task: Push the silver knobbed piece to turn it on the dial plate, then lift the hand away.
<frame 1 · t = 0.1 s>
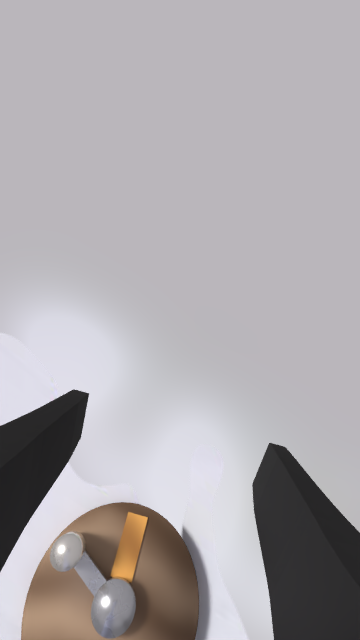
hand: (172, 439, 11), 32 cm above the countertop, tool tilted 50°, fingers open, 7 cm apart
silver knobbed piece: (92, 581, 30), point 4 cm above the countertop, hinge at 0.0°
dial plate: (115, 599, 32), on the countertop
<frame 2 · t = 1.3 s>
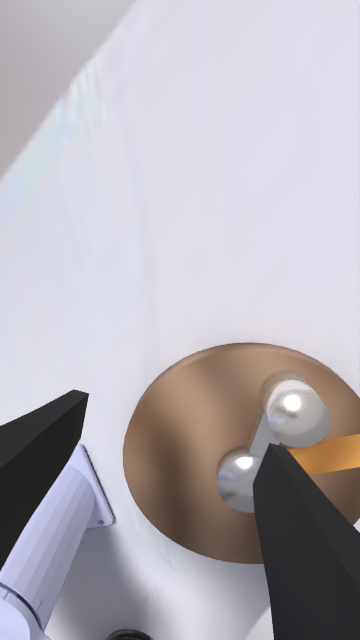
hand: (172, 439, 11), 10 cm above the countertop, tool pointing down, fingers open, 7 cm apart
silver knobbed piece: (268, 456, 18), point 4 cm above the countertop, hinge at 0.0°
dial plate: (244, 454, 22), on the countertop
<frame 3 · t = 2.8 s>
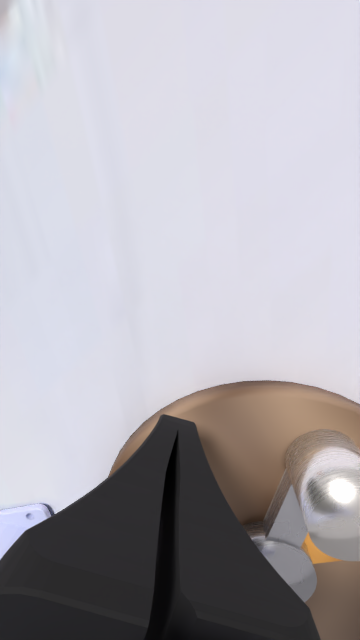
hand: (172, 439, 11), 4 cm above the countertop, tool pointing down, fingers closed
silver knobbed piece: (296, 549, 13), point 4 cm above the countertop, hinge at 0.0°
dial plate: (258, 522, 17), on the countertop
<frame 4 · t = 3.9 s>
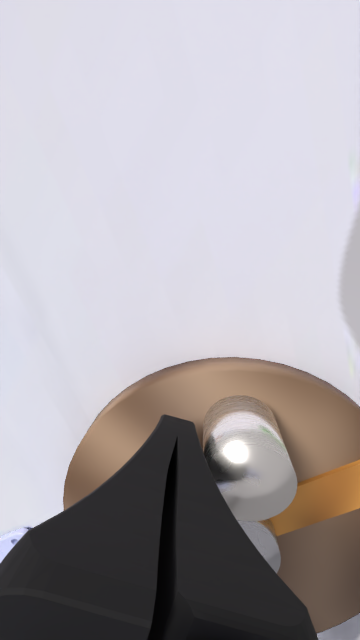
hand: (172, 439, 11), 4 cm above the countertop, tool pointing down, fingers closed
silver knobbed piece: (237, 521, 12), point 4 cm above the countertop, hinge at 0.0°, touching gripper
dial plate: (228, 503, 17), on the countertop
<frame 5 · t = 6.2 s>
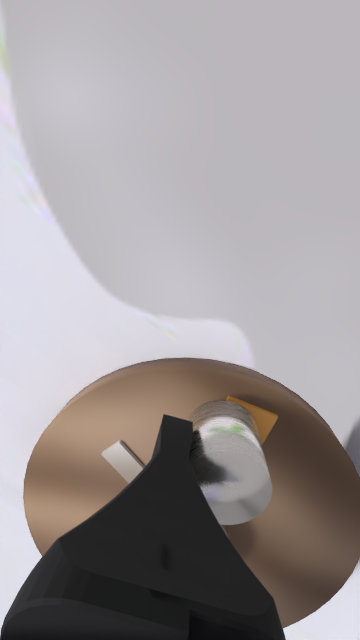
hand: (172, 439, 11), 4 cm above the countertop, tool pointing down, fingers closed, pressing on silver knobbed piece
silver knobbed piece: (199, 521, 13), point 4 cm above the countertop, hinge at 50.7°, touching gripper
dial plate: (188, 502, 17), on the countertop
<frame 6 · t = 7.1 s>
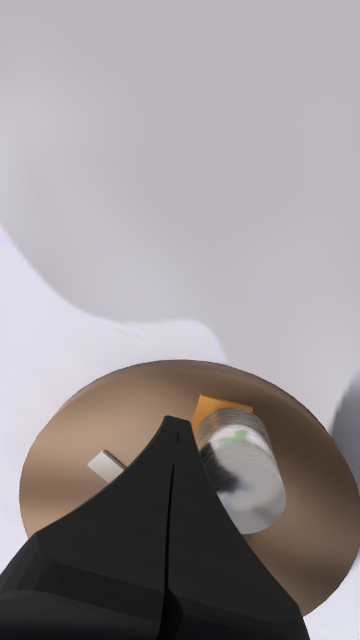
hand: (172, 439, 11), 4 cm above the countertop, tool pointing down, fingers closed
silver knobbed piece: (201, 526, 13), point 4 cm above the countertop, hinge at 63.6°, touching gripper
dial plate: (184, 503, 17), on the countertop
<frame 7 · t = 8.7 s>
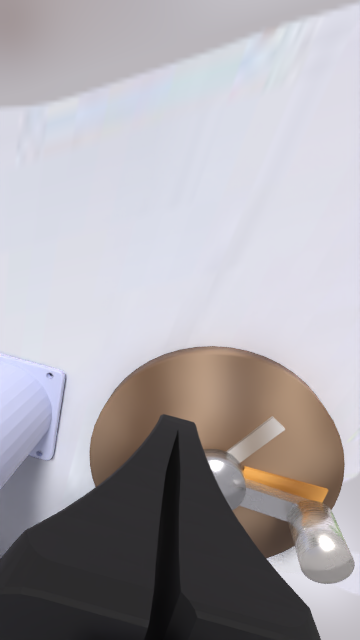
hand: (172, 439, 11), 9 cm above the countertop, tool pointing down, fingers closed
silver knobbed piece: (258, 513, 19), point 4 cm above the countertop, hinge at 63.9°
dial plate: (211, 456, 23), on the countertop
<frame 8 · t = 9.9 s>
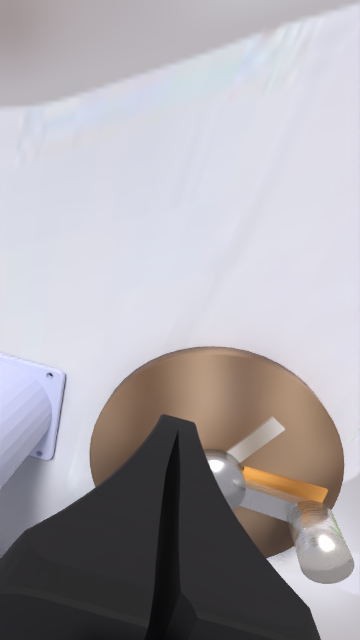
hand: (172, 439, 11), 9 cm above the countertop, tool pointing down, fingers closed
silver knobbed piece: (258, 514, 19), point 4 cm above the countertop, hinge at 63.9°
dial plate: (211, 456, 23), on the countertop
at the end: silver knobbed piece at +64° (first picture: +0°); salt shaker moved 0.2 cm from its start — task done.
